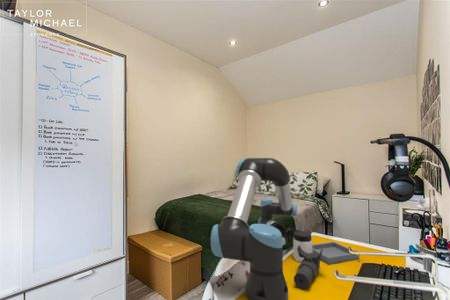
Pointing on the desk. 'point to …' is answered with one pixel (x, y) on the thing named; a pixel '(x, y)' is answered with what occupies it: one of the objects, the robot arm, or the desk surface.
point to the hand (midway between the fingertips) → (296, 240)
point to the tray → (333, 253)
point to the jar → (304, 241)
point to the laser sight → (307, 268)
